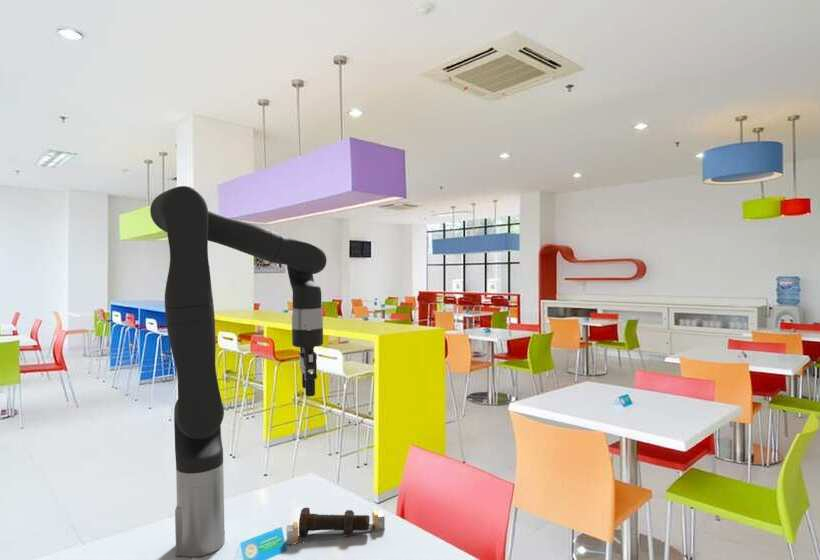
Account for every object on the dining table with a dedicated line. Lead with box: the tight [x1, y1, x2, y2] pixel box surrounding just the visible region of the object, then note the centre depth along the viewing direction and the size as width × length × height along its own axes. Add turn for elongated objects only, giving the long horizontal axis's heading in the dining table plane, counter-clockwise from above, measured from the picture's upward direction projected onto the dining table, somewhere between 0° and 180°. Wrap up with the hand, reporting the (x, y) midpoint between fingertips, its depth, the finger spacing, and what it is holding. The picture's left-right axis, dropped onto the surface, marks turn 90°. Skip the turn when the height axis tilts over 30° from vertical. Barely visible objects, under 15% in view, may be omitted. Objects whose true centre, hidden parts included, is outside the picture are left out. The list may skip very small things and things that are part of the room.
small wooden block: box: [371, 509, 386, 532], centre depth 113 cm, size 2×2×4 cm
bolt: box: [298, 507, 371, 537], centre depth 111 cm, size 6×5×15 cm
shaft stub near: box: [286, 521, 299, 546], centre depth 108 cm, size 2×2×4 cm
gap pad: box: [298, 523, 376, 544], centre depth 111 cm, size 17×3×1 cm, turn 107°
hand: (308, 391), depth 125 cm, fingers open, 8 cm apart
